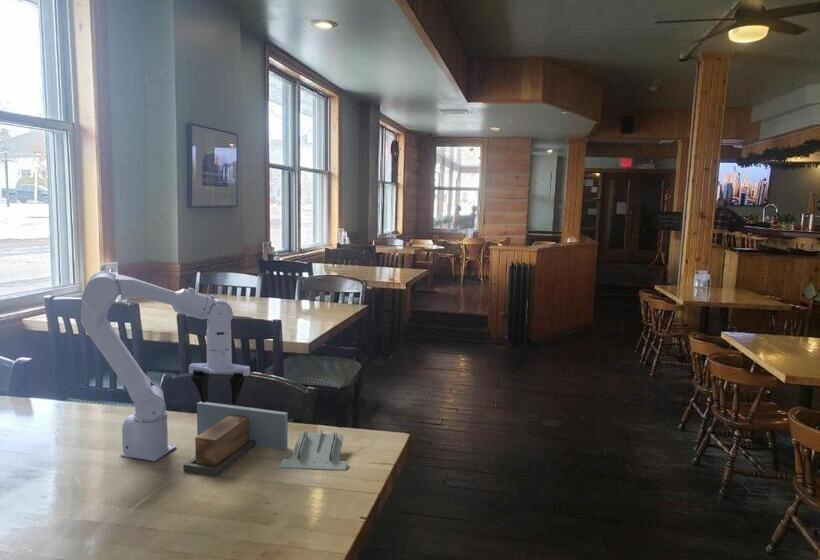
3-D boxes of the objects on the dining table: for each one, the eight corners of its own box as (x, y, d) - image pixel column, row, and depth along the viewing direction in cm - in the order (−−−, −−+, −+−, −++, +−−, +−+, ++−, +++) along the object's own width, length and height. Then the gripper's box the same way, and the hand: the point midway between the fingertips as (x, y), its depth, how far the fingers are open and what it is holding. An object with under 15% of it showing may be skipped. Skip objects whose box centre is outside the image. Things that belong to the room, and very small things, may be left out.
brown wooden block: (195, 467, 128) (195, 437, 128) (229, 442, 142) (229, 415, 141) (215, 470, 127) (215, 440, 126) (248, 444, 141) (247, 417, 140)
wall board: (153, 466, 129) (152, 427, 128) (201, 435, 146) (200, 401, 145) (249, 481, 123) (249, 441, 122) (287, 447, 141) (287, 412, 139)
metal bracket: (291, 424, 141) (352, 426, 141) (292, 443, 143) (352, 445, 143) (277, 465, 128) (344, 468, 128) (279, 485, 130) (345, 488, 130)
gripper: (182, 350, 136) (183, 406, 138) (242, 354, 135) (242, 409, 137) (195, 343, 143) (196, 396, 145) (252, 346, 142) (253, 399, 143)
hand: (219, 402), depth 141 cm, fingers open, 7 cm apart
